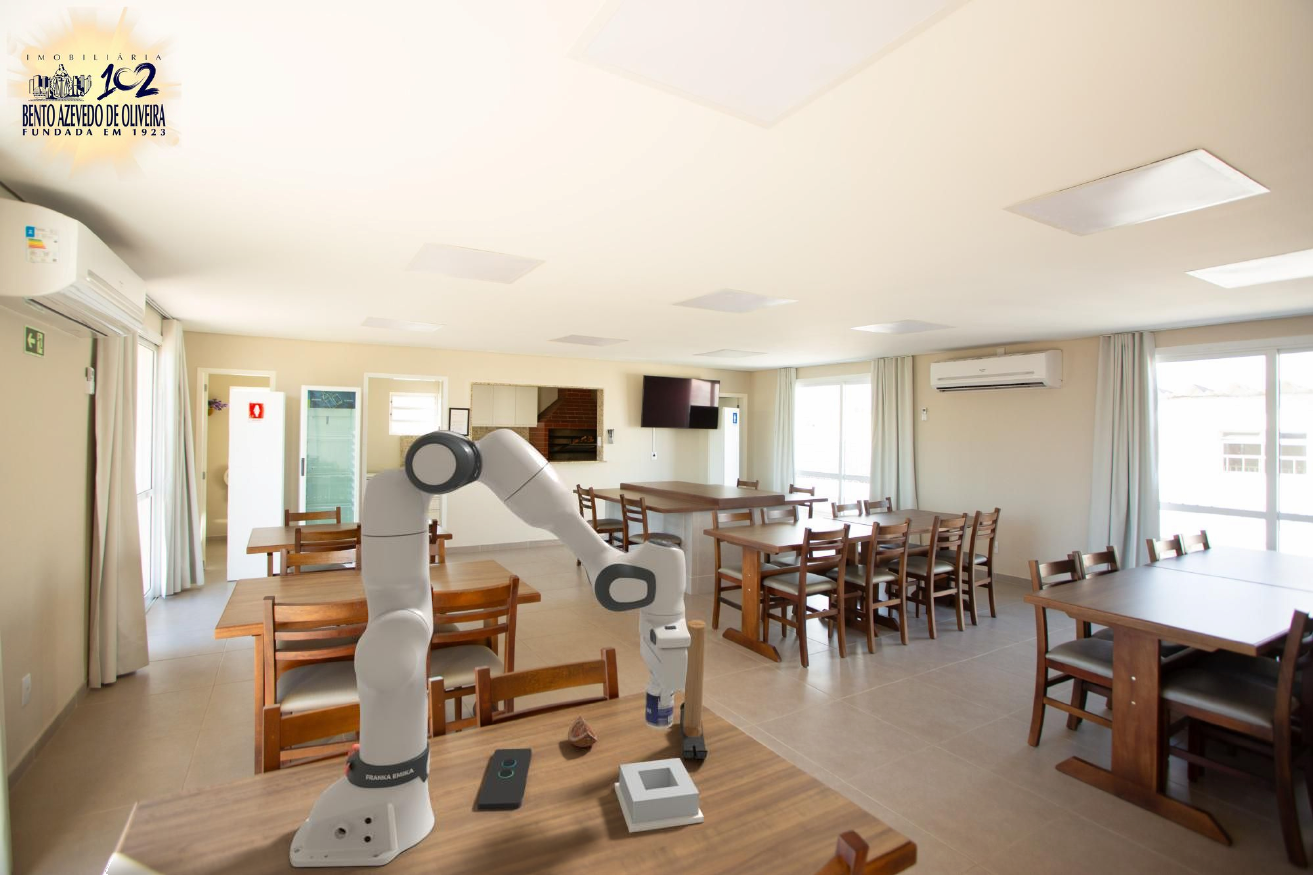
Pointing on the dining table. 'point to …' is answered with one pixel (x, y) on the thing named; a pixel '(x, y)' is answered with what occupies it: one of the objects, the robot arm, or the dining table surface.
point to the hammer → (694, 694)
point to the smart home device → (505, 779)
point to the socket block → (657, 795)
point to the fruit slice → (581, 733)
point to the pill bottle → (657, 706)
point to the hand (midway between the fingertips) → (659, 695)
